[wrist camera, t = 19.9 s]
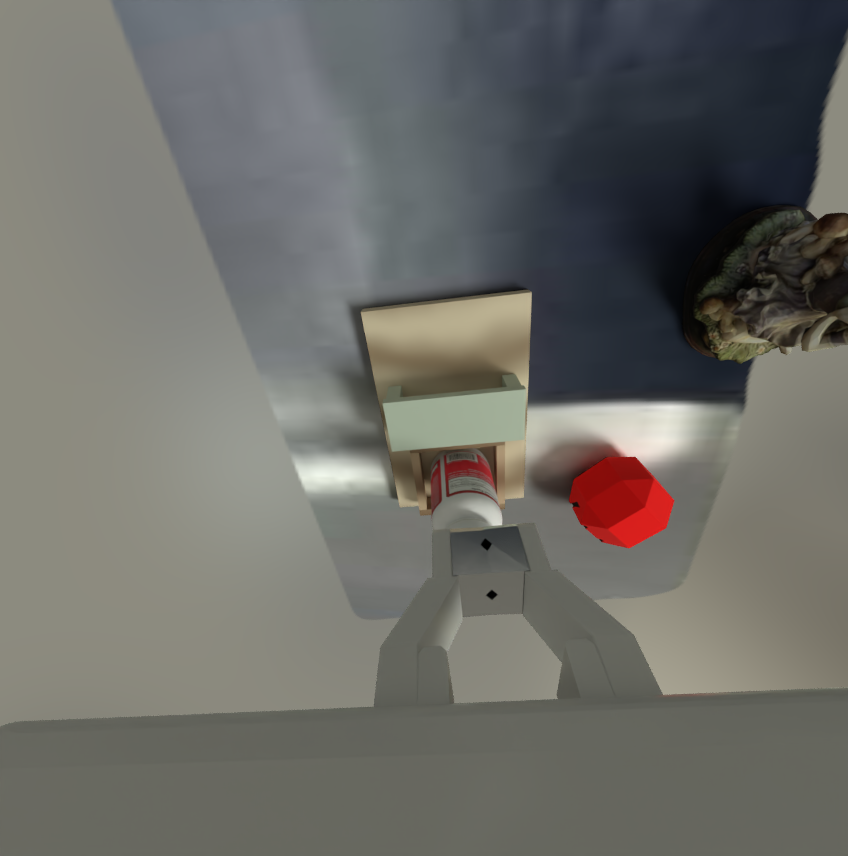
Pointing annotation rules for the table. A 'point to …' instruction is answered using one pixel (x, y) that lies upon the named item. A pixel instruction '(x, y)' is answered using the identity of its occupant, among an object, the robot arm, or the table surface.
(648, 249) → the table surface
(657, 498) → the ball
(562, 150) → the table surface
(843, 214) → the figurine
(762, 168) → the table surface
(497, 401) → the housing cover
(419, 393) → the base
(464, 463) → the pill bottle
